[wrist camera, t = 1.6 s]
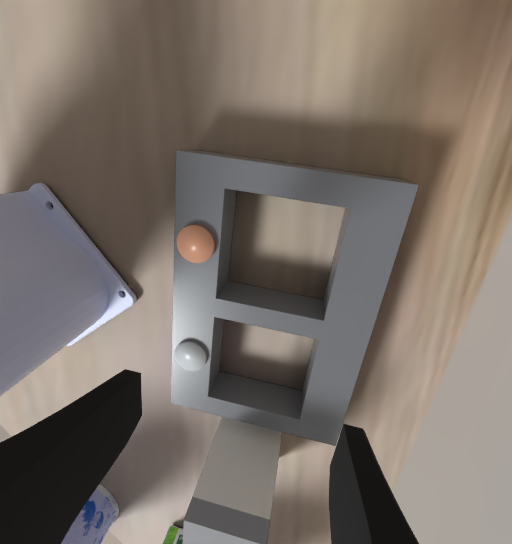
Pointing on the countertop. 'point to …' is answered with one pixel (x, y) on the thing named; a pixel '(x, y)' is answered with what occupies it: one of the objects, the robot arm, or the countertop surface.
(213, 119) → the countertop surface
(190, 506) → the plug
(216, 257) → the socket board
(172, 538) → the syrup box
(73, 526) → the aerosol can
